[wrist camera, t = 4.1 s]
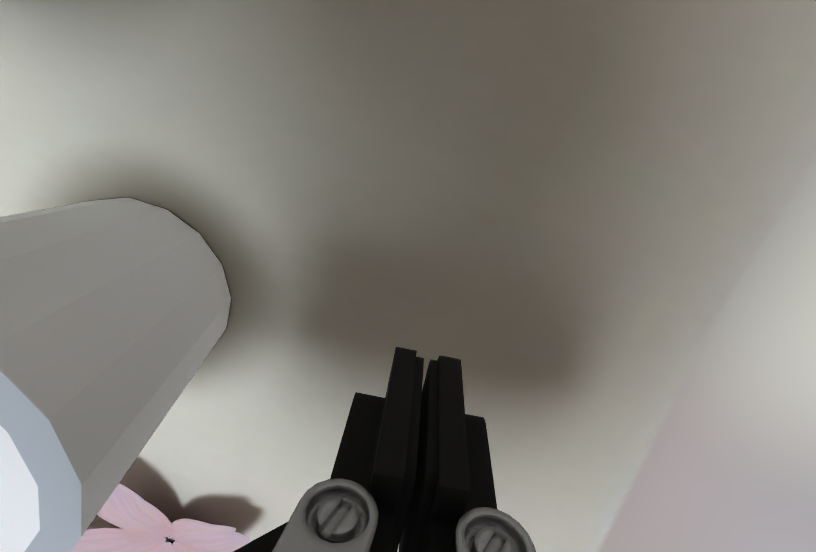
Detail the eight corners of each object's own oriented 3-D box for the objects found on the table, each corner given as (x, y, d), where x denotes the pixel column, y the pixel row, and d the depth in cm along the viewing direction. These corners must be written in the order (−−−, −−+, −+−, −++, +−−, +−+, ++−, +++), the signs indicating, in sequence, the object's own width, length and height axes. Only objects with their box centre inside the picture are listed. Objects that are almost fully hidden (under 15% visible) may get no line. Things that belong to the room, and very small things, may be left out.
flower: (219, 411, 15) (196, 444, 14) (333, 592, 19) (324, 633, 17) (5, 469, 17) (-35, 503, 16) (144, 623, 21) (121, 662, 19)
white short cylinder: (246, 190, 12) (25, 300, 6) (254, 391, 15) (110, 621, 8) (6, 161, 12) (-474, 236, 6) (57, 365, 15) (-233, 570, 9)
